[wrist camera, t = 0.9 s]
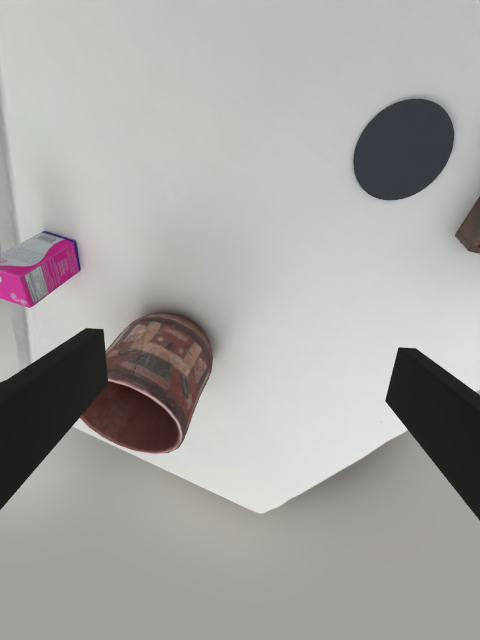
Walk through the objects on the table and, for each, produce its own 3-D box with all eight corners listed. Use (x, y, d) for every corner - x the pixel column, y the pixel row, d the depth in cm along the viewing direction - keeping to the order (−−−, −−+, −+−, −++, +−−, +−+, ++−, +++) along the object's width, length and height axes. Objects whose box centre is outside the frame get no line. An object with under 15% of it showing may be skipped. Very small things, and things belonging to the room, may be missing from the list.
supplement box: (51, 262, 51) (-7, 297, 42) (43, 230, 47) (-23, 261, 38) (82, 272, 51) (29, 309, 42) (76, 240, 47) (18, 274, 38)
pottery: (123, 292, 51) (46, 365, 37) (219, 306, 48) (174, 393, 34) (143, 362, 62) (89, 440, 48) (222, 378, 59) (189, 466, 45)
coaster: (387, 82, 27) (388, 82, 27) (476, 120, 27) (477, 121, 27) (337, 180, 33) (337, 181, 33) (410, 211, 33) (411, 212, 33)
